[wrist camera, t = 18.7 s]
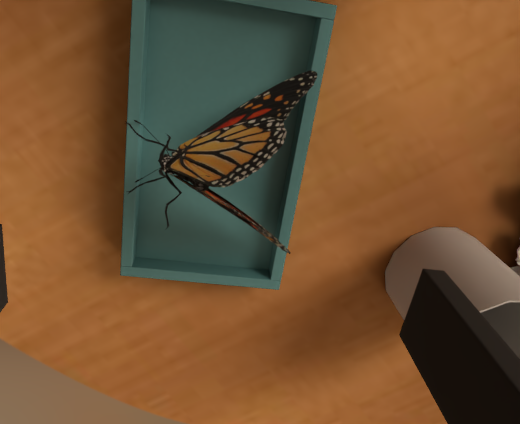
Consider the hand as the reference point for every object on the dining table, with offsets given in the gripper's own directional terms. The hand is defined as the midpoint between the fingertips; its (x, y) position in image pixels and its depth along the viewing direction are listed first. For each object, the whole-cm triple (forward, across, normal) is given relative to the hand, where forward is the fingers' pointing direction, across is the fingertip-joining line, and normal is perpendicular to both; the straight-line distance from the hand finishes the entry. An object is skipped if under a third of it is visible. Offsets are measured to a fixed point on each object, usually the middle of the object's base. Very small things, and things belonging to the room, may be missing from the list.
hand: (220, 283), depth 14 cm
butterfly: (+11, -4, -1) cm, 12 cm away
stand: (+18, 0, -1) cm, 18 cm away
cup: (+18, +19, -9) cm, 28 cm away
